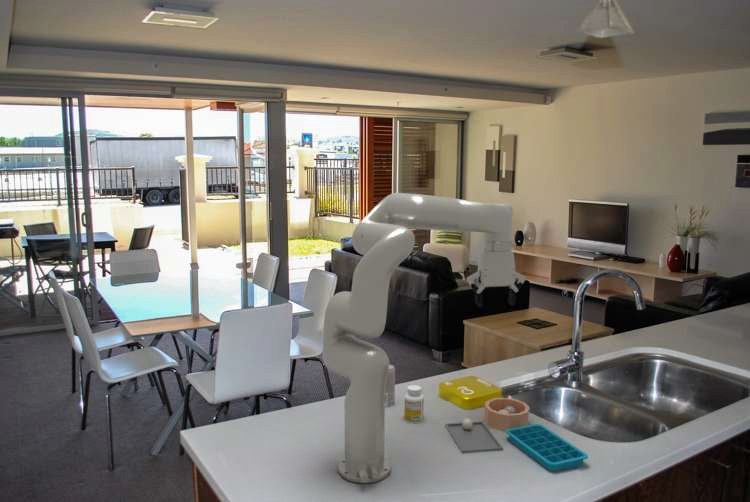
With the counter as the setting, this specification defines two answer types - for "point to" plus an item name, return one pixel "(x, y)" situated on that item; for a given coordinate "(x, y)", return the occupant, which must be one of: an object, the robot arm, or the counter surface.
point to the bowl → (506, 420)
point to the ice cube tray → (546, 447)
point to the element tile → (469, 392)
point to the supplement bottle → (414, 404)
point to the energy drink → (390, 387)
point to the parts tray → (473, 438)
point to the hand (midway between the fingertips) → (495, 305)
